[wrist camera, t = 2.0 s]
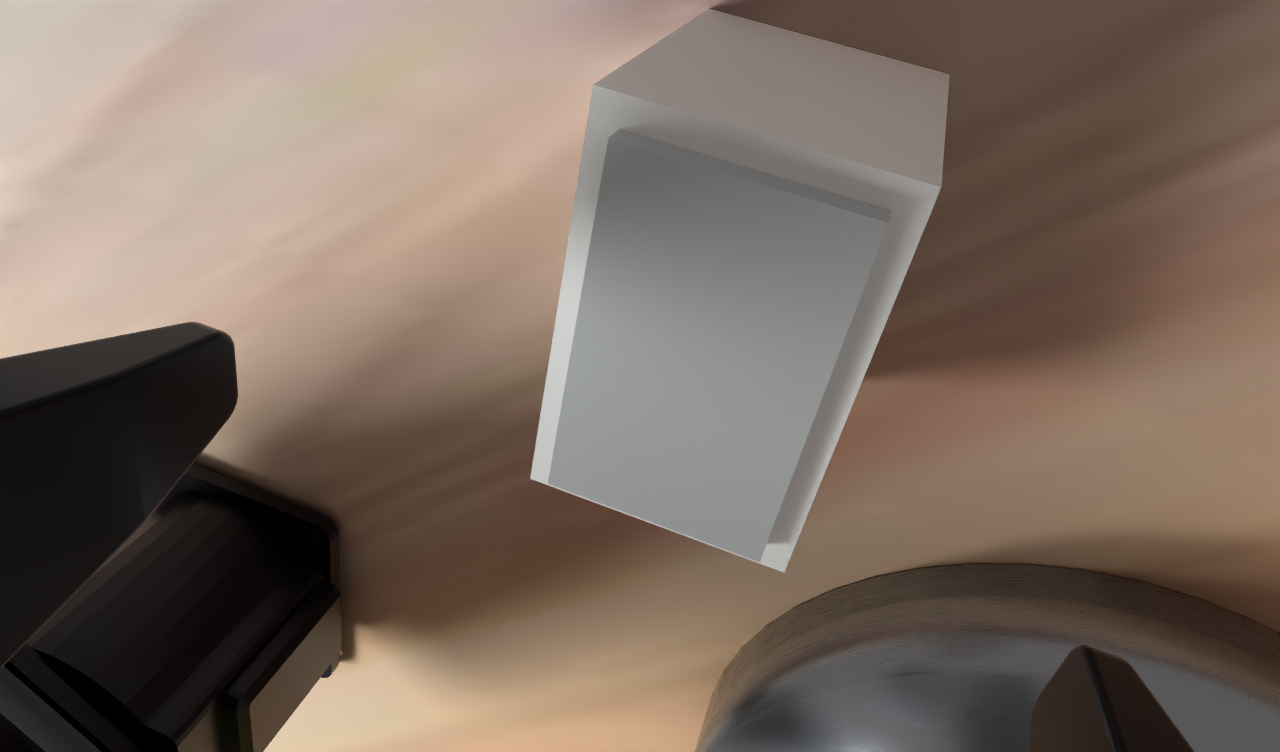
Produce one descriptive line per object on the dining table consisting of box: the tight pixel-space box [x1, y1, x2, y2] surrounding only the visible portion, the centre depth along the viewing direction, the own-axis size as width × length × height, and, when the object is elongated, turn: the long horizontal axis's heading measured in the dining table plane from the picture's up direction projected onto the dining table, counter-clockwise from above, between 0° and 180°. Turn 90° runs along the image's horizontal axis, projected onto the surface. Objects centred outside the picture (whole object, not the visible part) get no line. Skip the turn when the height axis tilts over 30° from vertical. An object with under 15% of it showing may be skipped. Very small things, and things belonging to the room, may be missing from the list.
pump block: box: [530, 9, 950, 572], centre depth 14 cm, size 4×6×6 cm, turn 168°
